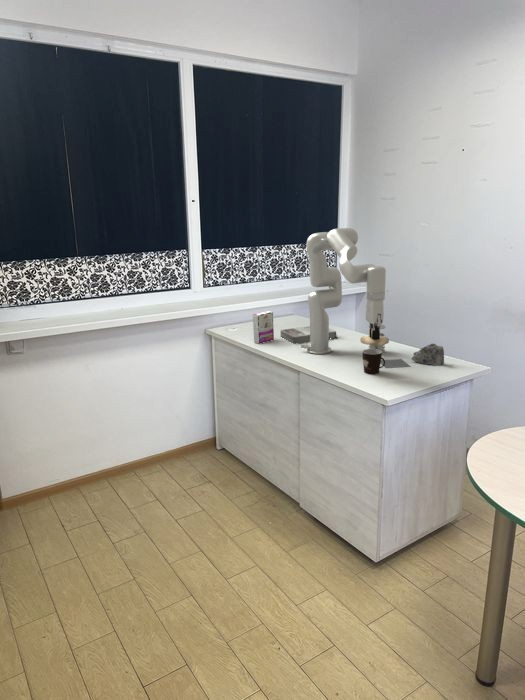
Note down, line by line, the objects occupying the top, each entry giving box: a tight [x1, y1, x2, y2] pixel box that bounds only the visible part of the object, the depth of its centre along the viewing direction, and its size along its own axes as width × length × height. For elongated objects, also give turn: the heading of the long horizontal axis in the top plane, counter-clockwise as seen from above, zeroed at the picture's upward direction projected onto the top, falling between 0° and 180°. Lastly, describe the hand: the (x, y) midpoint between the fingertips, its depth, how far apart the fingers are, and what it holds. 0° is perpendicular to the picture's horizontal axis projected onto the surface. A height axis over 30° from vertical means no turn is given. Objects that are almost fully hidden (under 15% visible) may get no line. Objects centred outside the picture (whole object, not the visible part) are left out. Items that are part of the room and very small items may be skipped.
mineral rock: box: [411, 343, 445, 366], centre depth 234 cm, size 13×11×10 cm
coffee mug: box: [361, 348, 386, 375], centre depth 221 cm, size 12×9×10 cm
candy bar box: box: [252, 310, 275, 344], centre depth 279 cm, size 11×5×16 cm, turn 131°
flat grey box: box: [280, 325, 338, 345], centre depth 287 cm, size 18×27×4 cm
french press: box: [368, 323, 386, 355], centre depth 249 cm, size 10×12×25 cm
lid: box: [359, 328, 390, 346], centre depth 217 cm, size 12×12×6 cm
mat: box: [380, 358, 412, 369], centre depth 235 cm, size 12×12×1 cm
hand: (374, 337), depth 217 cm, fingers closed on lid, 2 cm apart
